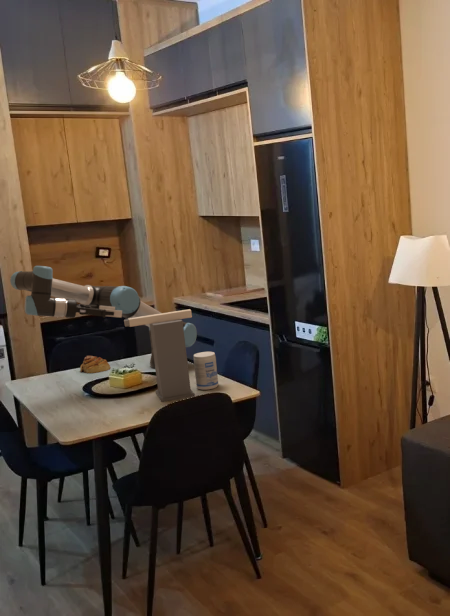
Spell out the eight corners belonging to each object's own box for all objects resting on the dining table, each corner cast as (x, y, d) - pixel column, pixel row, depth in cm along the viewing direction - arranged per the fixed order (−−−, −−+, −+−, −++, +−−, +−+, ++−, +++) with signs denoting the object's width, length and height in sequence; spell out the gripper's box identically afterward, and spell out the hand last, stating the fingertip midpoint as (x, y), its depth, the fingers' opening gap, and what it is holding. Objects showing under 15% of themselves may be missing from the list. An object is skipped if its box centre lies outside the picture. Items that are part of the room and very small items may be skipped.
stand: (155, 392, 279) (146, 320, 274) (187, 387, 283) (178, 315, 277) (161, 401, 266) (151, 326, 260) (194, 395, 269) (185, 320, 264)
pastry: (79, 369, 334) (77, 354, 333) (108, 364, 338) (106, 350, 337) (81, 375, 322) (79, 360, 320) (112, 370, 326) (109, 355, 325)
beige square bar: (124, 326, 266) (123, 319, 266) (190, 316, 273) (189, 309, 272) (125, 327, 263) (124, 320, 263) (192, 317, 270) (191, 310, 269)
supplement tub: (211, 391, 273) (207, 357, 271) (192, 389, 278) (188, 356, 275) (222, 384, 281) (219, 351, 279) (204, 383, 286) (200, 350, 284)
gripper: (60, 313, 269) (111, 317, 277) (68, 321, 246) (123, 325, 254) (62, 295, 269) (112, 299, 277) (70, 302, 246) (125, 306, 254)
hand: (118, 312), depth 265 cm, fingers open, 13 cm apart
